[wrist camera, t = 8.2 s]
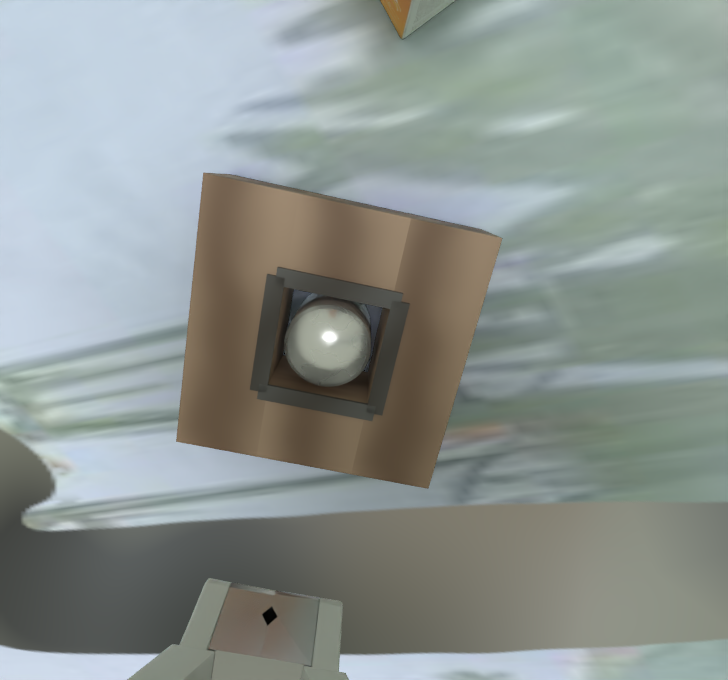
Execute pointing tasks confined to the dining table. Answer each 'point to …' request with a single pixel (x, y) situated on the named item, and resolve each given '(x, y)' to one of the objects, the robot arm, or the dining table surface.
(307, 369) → the peg
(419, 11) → the small box
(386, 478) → the socket block
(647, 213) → the dining table surface
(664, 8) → the dining table surface
